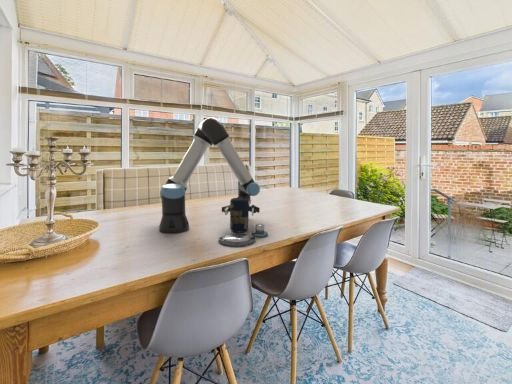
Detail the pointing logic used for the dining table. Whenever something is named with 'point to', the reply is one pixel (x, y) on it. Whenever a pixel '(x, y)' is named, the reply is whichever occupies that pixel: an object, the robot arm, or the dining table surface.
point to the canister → (239, 214)
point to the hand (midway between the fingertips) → (239, 212)
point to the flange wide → (236, 240)
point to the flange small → (259, 231)
